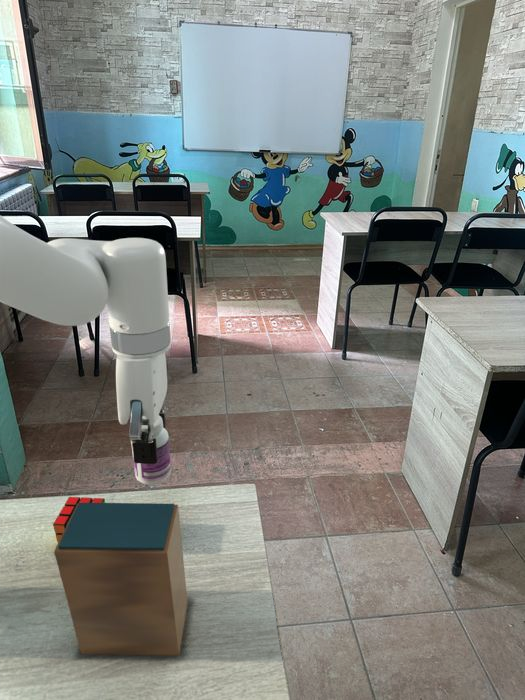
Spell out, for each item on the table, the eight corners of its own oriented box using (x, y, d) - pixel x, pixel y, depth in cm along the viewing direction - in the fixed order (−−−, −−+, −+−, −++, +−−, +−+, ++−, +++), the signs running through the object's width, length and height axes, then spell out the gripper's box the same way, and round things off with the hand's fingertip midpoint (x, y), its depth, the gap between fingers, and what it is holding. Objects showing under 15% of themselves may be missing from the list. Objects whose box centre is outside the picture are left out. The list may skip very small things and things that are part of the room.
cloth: (58, 549, 51) (57, 546, 51) (79, 504, 57) (79, 502, 56) (163, 550, 51) (163, 547, 51) (174, 506, 57) (174, 503, 56)
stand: (81, 655, 59) (53, 551, 51) (99, 603, 65) (77, 503, 57) (179, 656, 59) (167, 552, 51) (187, 604, 65) (178, 504, 57)
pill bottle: (178, 468, 74) (175, 416, 69) (157, 490, 69) (152, 435, 65) (149, 458, 76) (144, 406, 71) (127, 479, 71) (121, 425, 67)
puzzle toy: (96, 554, 72) (90, 526, 70) (59, 552, 72) (52, 524, 70) (109, 525, 77) (104, 498, 75) (75, 523, 77) (69, 496, 75)
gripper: (129, 311, 70) (139, 415, 78) (90, 365, 55) (107, 488, 63) (180, 312, 70) (185, 416, 78) (156, 367, 55) (165, 490, 63)
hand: (150, 447), depth 70 cm, fingers closed on pill bottle, 5 cm apart
